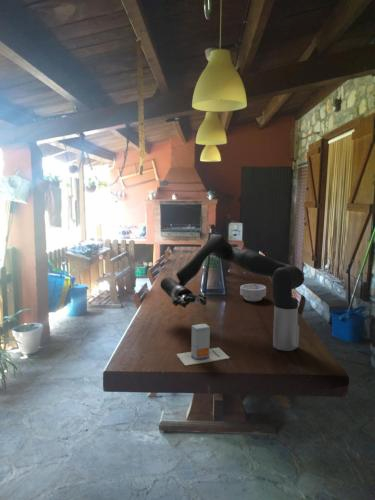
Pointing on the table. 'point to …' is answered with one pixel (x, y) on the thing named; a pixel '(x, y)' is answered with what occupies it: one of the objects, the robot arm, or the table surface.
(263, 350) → the table surface
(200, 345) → the skincare box
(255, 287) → the paper bowls
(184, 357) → the paper sheet
